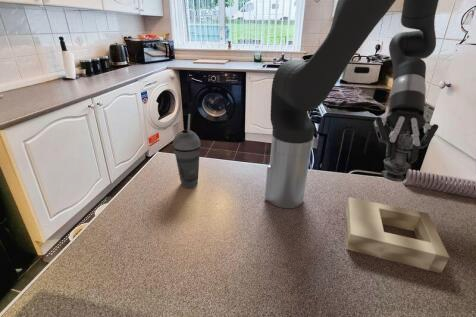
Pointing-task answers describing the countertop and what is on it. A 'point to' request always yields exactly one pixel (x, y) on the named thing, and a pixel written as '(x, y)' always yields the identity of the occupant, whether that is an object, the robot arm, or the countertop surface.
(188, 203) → the countertop surface
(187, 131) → the beverage cup
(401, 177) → the grey tall knobbed piece
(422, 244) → the jig
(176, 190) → the countertop surface
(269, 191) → the robot arm
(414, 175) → the coil
